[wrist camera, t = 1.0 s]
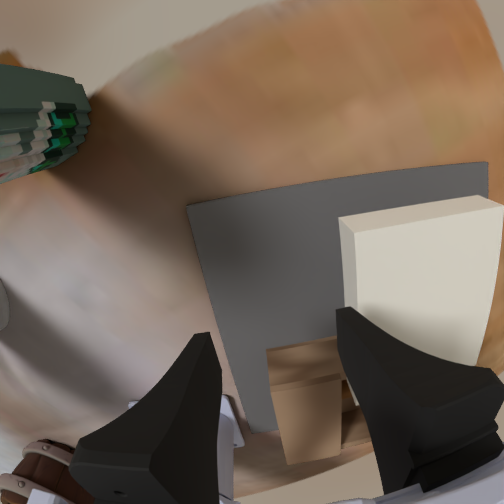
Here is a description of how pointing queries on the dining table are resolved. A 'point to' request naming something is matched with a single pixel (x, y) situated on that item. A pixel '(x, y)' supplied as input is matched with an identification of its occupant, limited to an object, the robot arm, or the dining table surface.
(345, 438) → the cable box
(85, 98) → the can
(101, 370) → the dining table surface
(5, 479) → the flowerpot
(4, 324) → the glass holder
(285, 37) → the dining table surface
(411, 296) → the lid
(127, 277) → the dining table surface
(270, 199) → the desk mat
